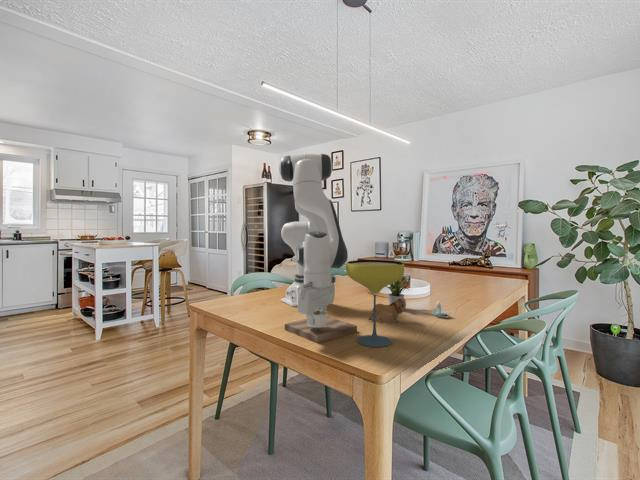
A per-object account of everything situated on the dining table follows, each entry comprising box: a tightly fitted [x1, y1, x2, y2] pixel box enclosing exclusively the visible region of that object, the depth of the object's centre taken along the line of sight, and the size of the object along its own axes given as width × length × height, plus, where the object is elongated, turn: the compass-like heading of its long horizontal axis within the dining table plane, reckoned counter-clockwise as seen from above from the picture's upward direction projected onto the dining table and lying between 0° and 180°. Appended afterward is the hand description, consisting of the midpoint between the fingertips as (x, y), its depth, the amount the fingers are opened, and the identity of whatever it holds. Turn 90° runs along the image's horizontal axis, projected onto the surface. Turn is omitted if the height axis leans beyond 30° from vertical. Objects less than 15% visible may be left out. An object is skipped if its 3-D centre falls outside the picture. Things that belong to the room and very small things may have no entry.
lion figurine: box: [368, 298, 407, 324], centre depth 126 cm, size 15×5×9 cm, turn 94°
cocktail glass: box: [345, 259, 405, 348], centre depth 103 cm, size 18×18×25 cm
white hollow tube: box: [308, 309, 328, 328], centre depth 110 cm, size 6×6×4 cm
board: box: [284, 309, 358, 344], centre depth 115 cm, size 18×18×8 cm
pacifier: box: [432, 300, 451, 319], centre depth 133 cm, size 7×6×6 cm
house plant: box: [385, 276, 412, 305], centre depth 144 cm, size 14×14×16 cm
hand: (317, 321), depth 110 cm, fingers closed on white hollow tube, 6 cm apart
